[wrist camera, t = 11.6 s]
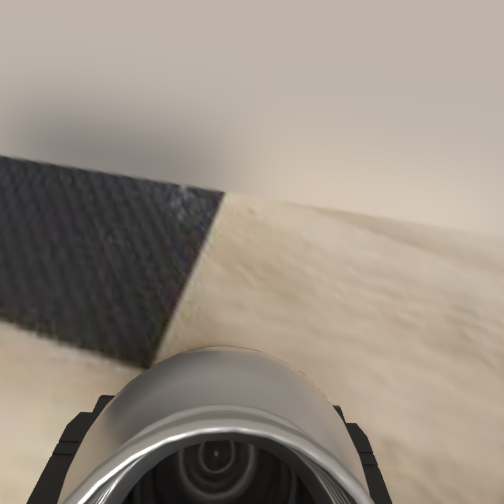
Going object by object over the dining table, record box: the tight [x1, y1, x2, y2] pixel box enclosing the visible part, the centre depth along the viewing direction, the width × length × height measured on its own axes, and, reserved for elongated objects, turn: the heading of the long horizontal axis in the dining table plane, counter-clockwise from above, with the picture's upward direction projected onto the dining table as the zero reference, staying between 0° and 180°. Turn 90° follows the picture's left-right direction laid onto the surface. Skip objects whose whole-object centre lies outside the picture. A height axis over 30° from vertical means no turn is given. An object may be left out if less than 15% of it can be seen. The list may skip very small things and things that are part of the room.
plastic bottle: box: [57, 346, 375, 504], centre depth 12 cm, size 6×7×20 cm
